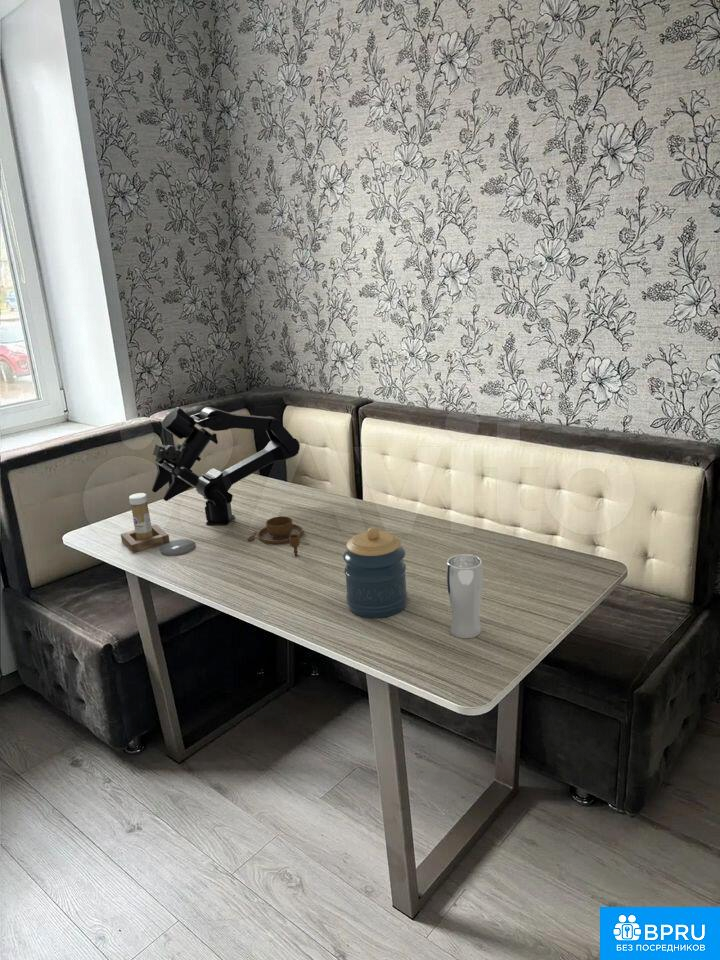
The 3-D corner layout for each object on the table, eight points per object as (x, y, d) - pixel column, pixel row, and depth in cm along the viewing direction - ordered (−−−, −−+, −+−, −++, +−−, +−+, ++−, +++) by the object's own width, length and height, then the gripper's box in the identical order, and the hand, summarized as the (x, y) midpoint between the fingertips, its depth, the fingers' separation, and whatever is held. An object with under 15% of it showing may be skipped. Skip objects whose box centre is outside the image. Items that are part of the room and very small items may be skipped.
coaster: (200, 541, 197) (200, 539, 196) (187, 555, 188) (187, 553, 188) (168, 541, 198) (168, 539, 198) (154, 555, 190) (154, 553, 190)
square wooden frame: (157, 531, 205) (156, 524, 205) (169, 542, 197) (168, 534, 197) (121, 541, 200) (120, 533, 200) (133, 552, 192) (131, 545, 192)
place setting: (318, 528, 201) (316, 508, 199) (302, 560, 182) (300, 538, 180) (256, 529, 204) (253, 509, 202) (234, 560, 185) (231, 538, 183)
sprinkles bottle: (133, 544, 198) (125, 497, 193) (143, 537, 202) (135, 491, 197) (147, 546, 196) (139, 498, 192) (157, 539, 200) (149, 492, 196)
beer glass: (480, 620, 148) (479, 552, 143) (486, 638, 141) (486, 567, 136) (445, 623, 148) (443, 554, 143) (450, 641, 141) (448, 570, 136)
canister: (372, 585, 166) (367, 512, 160) (419, 599, 158) (416, 523, 152) (334, 608, 156) (328, 532, 151) (382, 625, 148) (377, 545, 143)
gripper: (157, 425, 203) (124, 472, 201) (181, 438, 188) (146, 489, 186) (188, 447, 209) (156, 493, 207) (214, 461, 194) (180, 510, 192)
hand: (158, 495), depth 198 cm, fingers open, 9 cm apart
